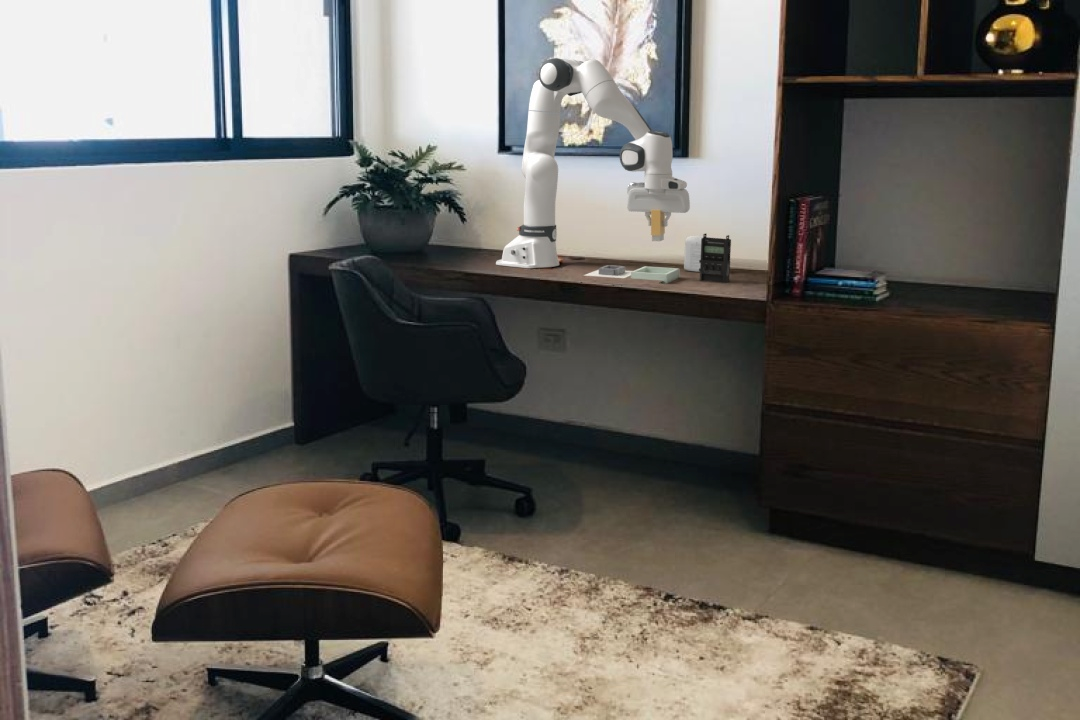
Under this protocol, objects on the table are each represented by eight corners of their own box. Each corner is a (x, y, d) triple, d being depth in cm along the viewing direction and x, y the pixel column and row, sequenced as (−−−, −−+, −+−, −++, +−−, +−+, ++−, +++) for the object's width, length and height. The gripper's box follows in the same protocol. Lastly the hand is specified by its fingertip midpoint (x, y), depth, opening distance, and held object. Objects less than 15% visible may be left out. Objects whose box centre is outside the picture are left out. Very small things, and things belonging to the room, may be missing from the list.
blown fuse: (651, 241, 356) (651, 210, 354) (655, 239, 360) (655, 208, 358) (660, 241, 355) (660, 210, 352) (664, 239, 359) (664, 208, 357)
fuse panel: (583, 278, 362) (583, 269, 361) (600, 271, 376) (600, 262, 375) (623, 281, 356) (624, 272, 356) (639, 274, 371) (640, 265, 370)
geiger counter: (695, 280, 359) (697, 234, 355) (701, 278, 362) (703, 232, 359) (725, 283, 353) (727, 236, 350) (731, 281, 357) (733, 235, 353)
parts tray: (630, 281, 356) (630, 272, 356) (644, 275, 369) (644, 266, 368) (666, 283, 352) (666, 274, 351) (679, 277, 364) (679, 268, 364)
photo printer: (714, 272, 377) (716, 235, 374) (709, 273, 373) (710, 237, 370) (687, 269, 382) (688, 233, 379) (682, 271, 379) (683, 234, 376)
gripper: (624, 183, 355) (624, 226, 358) (686, 184, 347) (685, 228, 350) (630, 181, 360) (630, 224, 363) (691, 182, 352) (690, 226, 355)
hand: (657, 226), depth 357 cm, fingers closed on blown fuse, 3 cm apart
